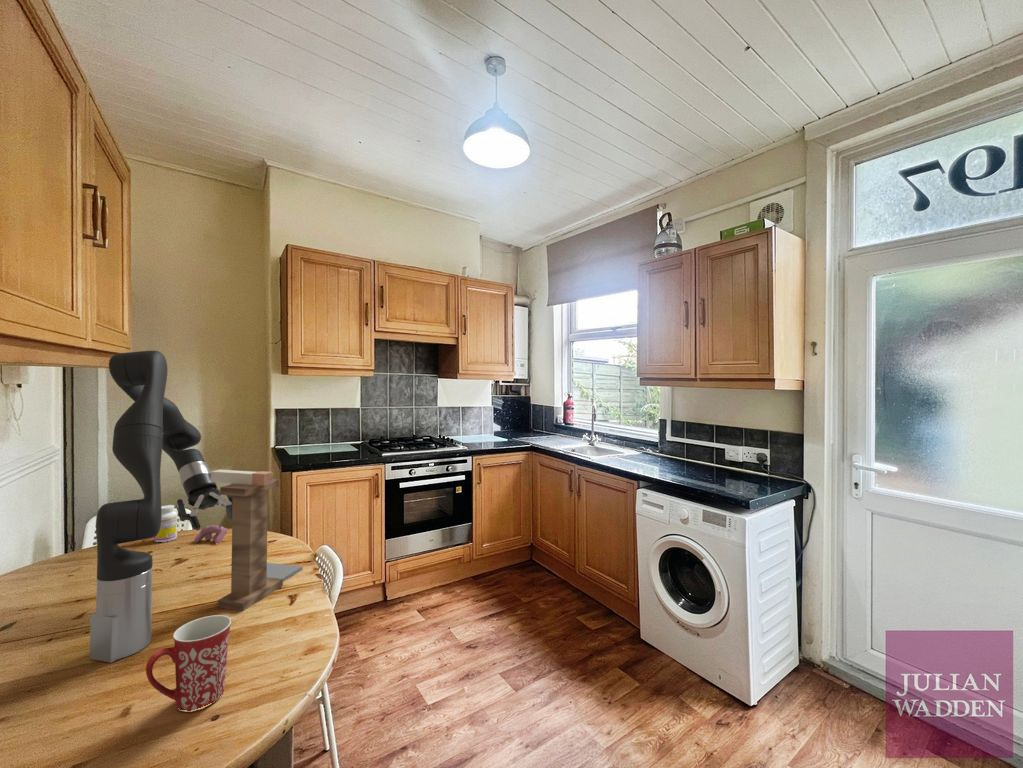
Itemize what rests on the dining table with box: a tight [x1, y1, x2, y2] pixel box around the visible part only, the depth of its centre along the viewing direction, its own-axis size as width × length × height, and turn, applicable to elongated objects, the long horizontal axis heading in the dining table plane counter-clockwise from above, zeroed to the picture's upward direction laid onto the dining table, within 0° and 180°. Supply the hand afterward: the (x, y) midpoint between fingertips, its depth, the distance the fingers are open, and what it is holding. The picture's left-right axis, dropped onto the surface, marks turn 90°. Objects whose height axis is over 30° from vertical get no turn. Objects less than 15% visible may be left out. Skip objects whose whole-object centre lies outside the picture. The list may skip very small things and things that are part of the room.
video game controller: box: [193, 524, 228, 545], centre depth 158 cm, size 10×5×7 cm, turn 84°
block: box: [210, 469, 274, 486], centre depth 118 cm, size 3×18×3 cm, turn 78°
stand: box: [217, 478, 284, 612], centre depth 117 cm, size 14×9×32 cm, turn 168°
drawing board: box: [267, 562, 304, 582], centre depth 131 cm, size 9×16×1 cm, turn 78°
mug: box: [145, 614, 232, 711], centre depth 77 cm, size 13×9×14 cm
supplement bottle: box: [154, 504, 178, 543], centre depth 159 cm, size 7×7×13 cm
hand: (215, 523), depth 122 cm, fingers open, 8 cm apart
